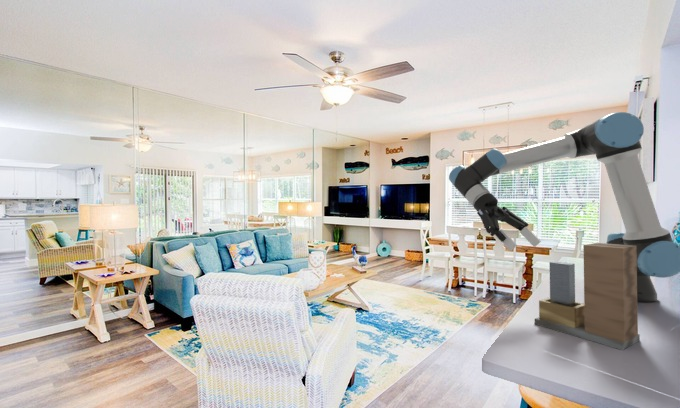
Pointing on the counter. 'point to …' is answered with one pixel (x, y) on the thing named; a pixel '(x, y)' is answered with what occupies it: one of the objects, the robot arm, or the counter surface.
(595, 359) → the counter surface
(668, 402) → the counter surface
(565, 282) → the grey block
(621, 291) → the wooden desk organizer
